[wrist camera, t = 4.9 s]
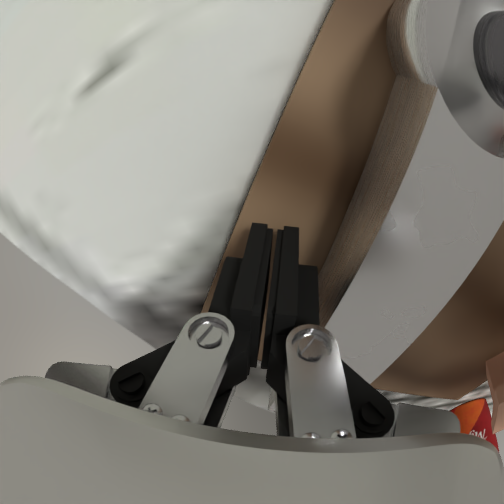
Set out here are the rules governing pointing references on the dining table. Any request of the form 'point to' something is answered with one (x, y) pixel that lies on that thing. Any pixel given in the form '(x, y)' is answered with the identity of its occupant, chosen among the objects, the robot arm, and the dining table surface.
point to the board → (342, 190)
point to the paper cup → (476, 420)
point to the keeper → (496, 390)
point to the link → (421, 183)
